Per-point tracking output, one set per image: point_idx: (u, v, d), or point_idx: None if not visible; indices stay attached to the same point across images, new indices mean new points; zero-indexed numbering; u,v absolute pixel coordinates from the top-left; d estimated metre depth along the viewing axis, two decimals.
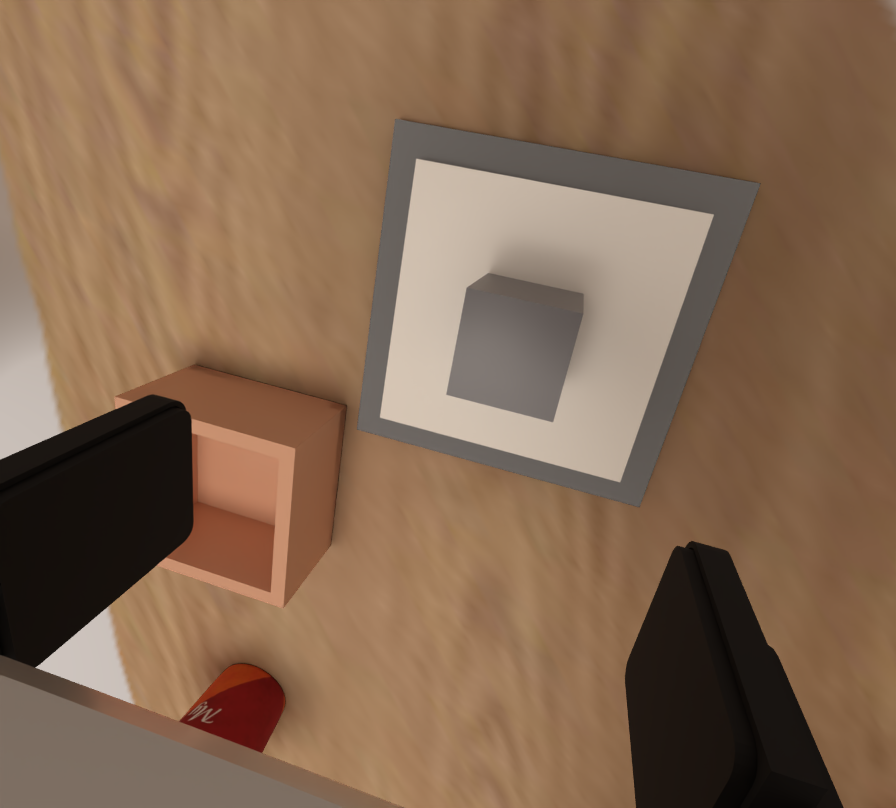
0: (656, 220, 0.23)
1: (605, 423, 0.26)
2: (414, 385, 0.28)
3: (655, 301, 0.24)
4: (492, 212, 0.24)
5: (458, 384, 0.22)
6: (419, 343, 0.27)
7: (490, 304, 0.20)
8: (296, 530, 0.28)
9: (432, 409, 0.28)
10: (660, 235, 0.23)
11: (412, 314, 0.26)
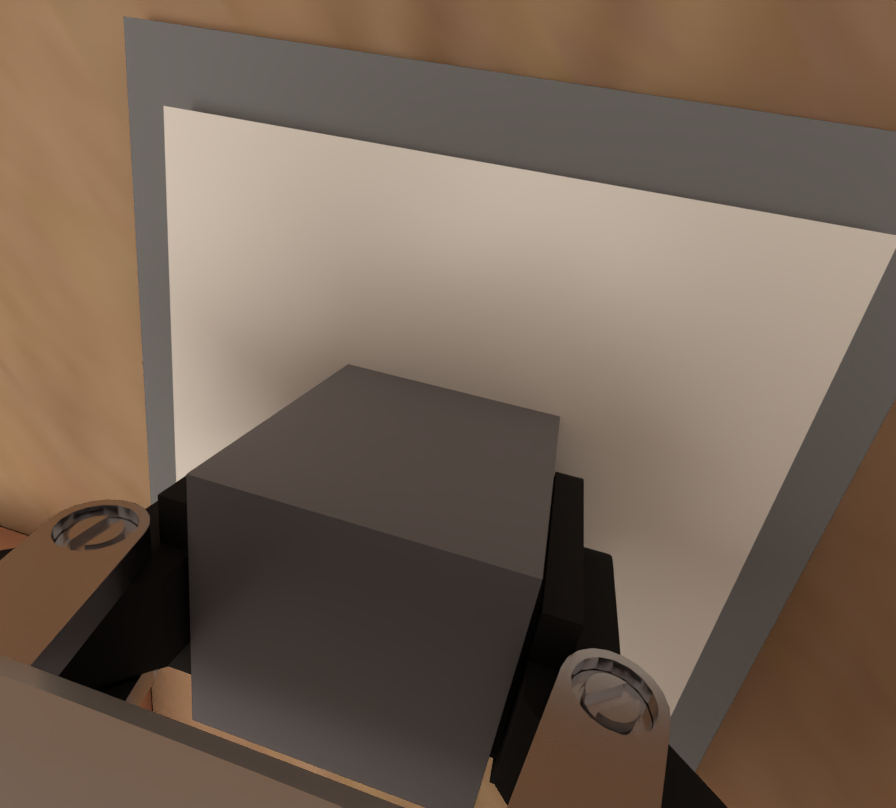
0: (741, 251, 0.09)
1: None
2: None
3: (730, 441, 0.10)
4: (344, 230, 0.10)
5: (217, 704, 0.08)
6: None
7: (258, 524, 0.07)
8: None
9: None
10: (750, 288, 0.09)
11: (208, 440, 0.13)
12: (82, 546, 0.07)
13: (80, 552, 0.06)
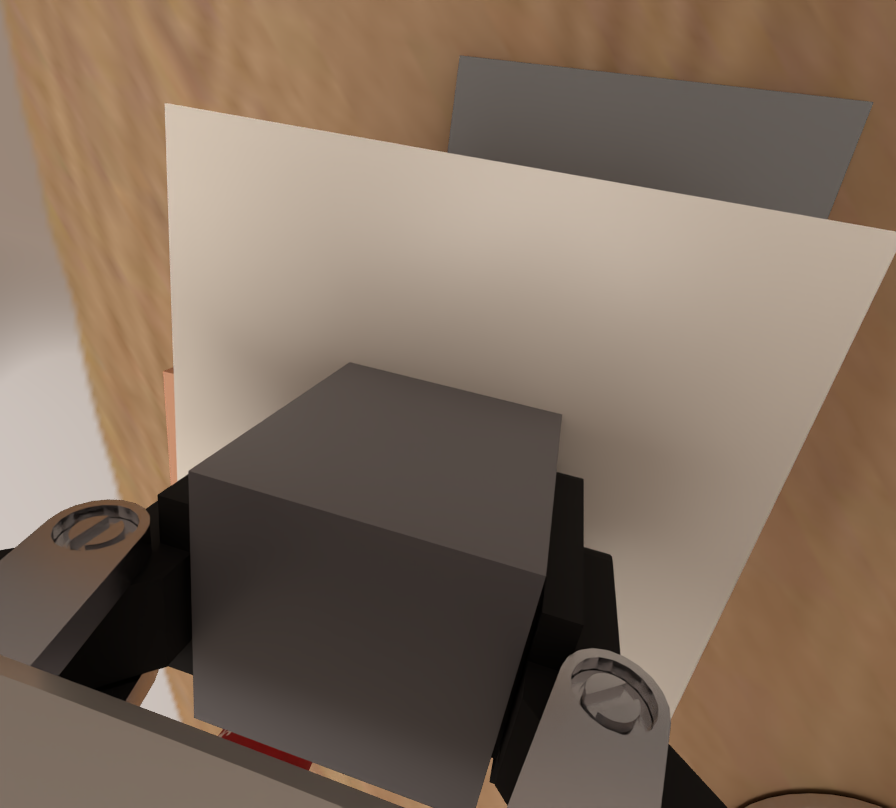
0: (744, 248, 0.09)
1: None
2: None
3: (733, 439, 0.10)
4: (345, 228, 0.10)
5: (219, 701, 0.08)
6: None
7: (260, 520, 0.07)
8: None
9: None
10: (753, 285, 0.09)
11: (209, 438, 0.13)
12: (82, 546, 0.07)
13: (80, 552, 0.06)
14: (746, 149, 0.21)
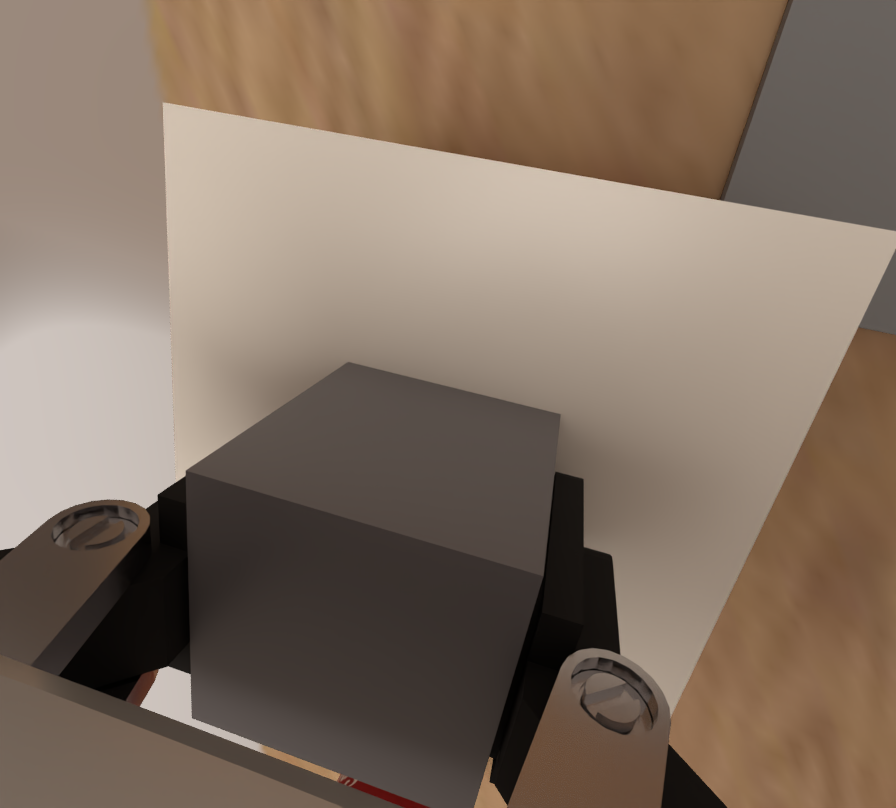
0: (742, 247, 0.09)
1: None
2: None
3: (732, 438, 0.10)
4: (343, 227, 0.10)
5: (217, 702, 0.08)
6: None
7: (257, 520, 0.07)
8: None
9: None
10: (751, 285, 0.09)
11: (208, 438, 0.13)
12: (82, 546, 0.07)
13: (80, 552, 0.06)
14: None
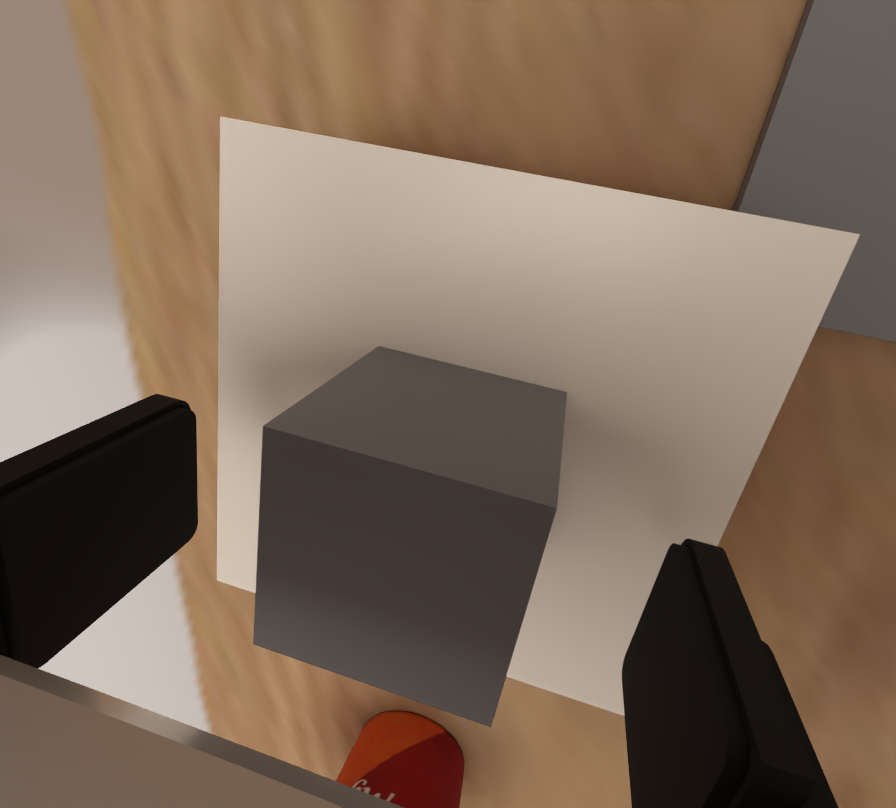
0: (725, 246, 0.10)
1: (610, 624, 0.14)
2: None
3: (716, 413, 0.11)
4: (378, 227, 0.12)
5: (276, 628, 0.09)
6: None
7: (322, 467, 0.08)
8: None
9: None
10: (732, 278, 0.10)
11: (249, 416, 0.14)
12: None
13: None
14: None
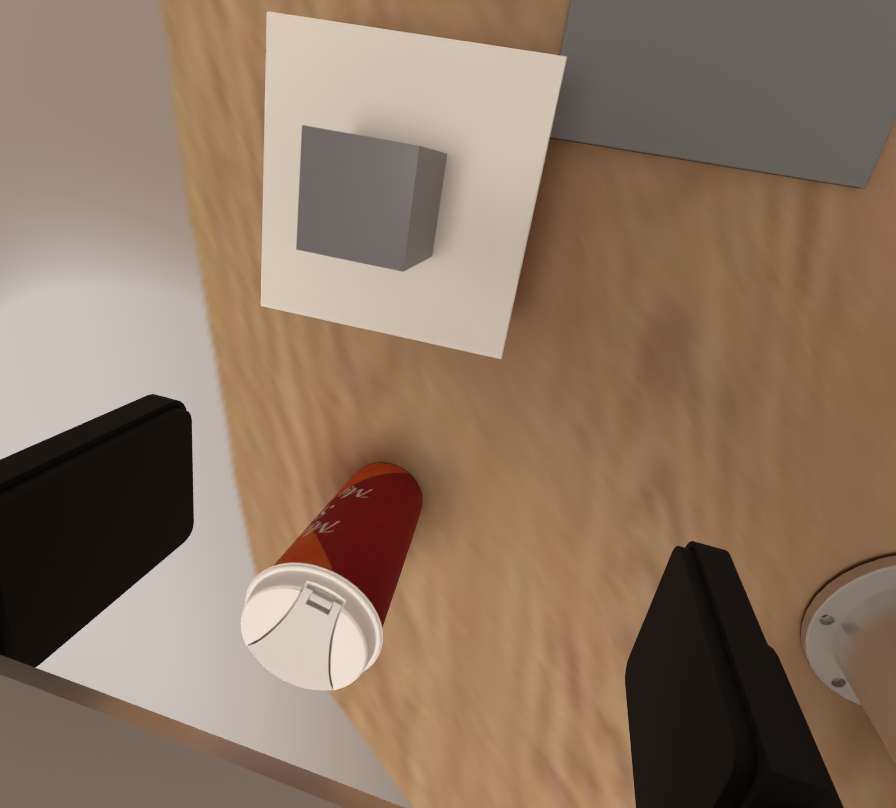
0: (511, 66, 0.22)
1: (481, 296, 0.26)
2: (291, 267, 0.27)
3: (518, 157, 0.23)
4: (349, 68, 0.23)
5: (307, 237, 0.21)
6: (291, 220, 0.26)
7: (327, 142, 0.20)
8: None
9: (311, 293, 0.27)
10: (516, 83, 0.22)
11: (281, 188, 0.26)
12: None
13: None
14: None
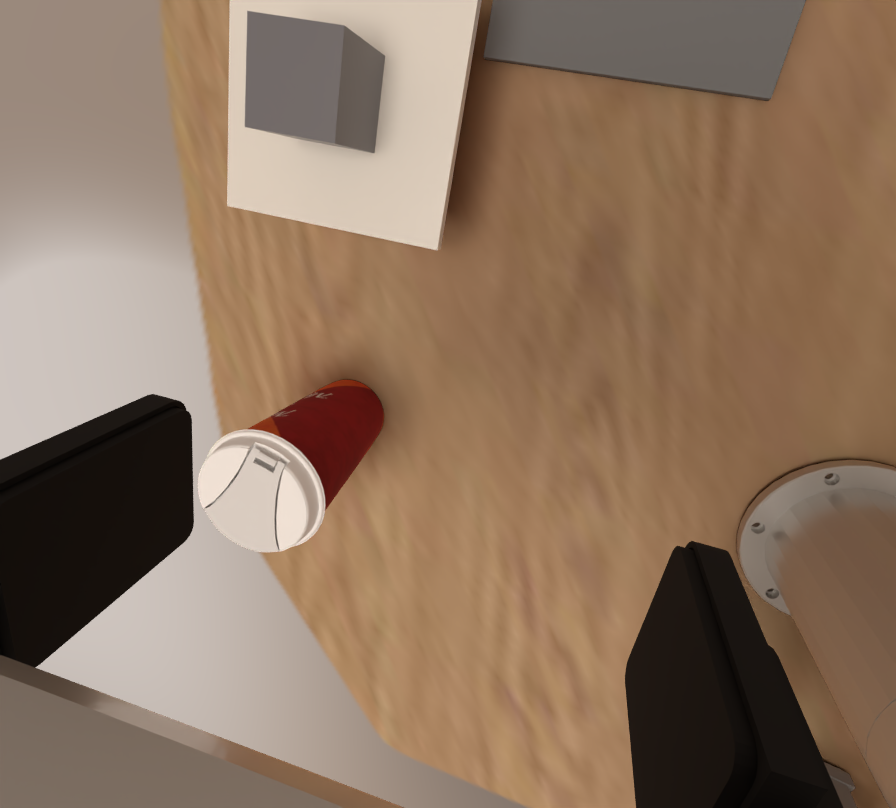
0: None
1: (418, 190, 0.29)
2: (253, 168, 0.30)
3: (445, 57, 0.26)
4: None
5: (253, 114, 0.24)
6: None
7: (268, 25, 0.23)
8: None
9: (270, 192, 0.30)
10: None
11: (244, 93, 0.29)
12: None
13: None
14: None
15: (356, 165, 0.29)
